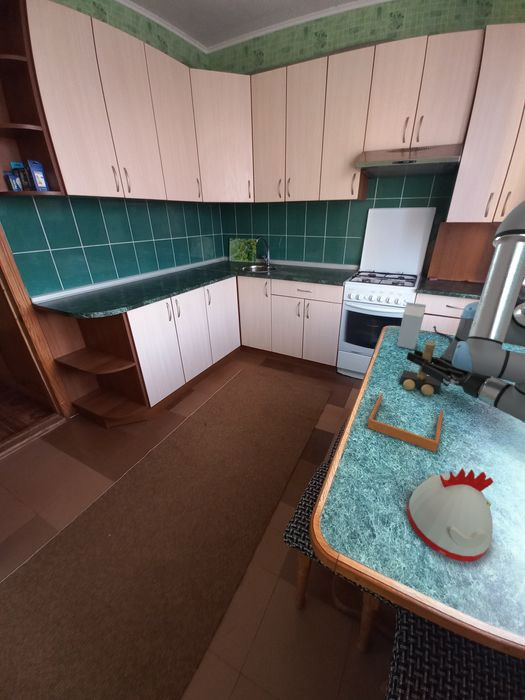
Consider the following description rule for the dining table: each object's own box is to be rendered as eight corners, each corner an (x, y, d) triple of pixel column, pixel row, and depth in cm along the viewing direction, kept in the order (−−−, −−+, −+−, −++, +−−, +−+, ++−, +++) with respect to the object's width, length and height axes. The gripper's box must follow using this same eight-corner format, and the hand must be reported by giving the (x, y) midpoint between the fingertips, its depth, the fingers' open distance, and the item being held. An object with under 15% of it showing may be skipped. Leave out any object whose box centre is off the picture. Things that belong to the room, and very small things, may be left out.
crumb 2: (422, 383, 94) (420, 394, 94) (435, 386, 92) (432, 397, 92) (422, 383, 97) (419, 393, 97) (434, 386, 95) (431, 396, 95)
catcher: (379, 400, 93) (381, 392, 92) (440, 418, 85) (443, 410, 83) (367, 427, 82) (368, 419, 81) (435, 452, 74) (438, 443, 72)
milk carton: (414, 350, 123) (424, 307, 114) (396, 346, 127) (405, 304, 118) (416, 343, 128) (427, 302, 120) (399, 340, 132) (408, 300, 123)
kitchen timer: (503, 568, 51) (539, 514, 44) (418, 554, 53) (440, 500, 46) (467, 496, 63) (491, 445, 56) (400, 487, 65) (415, 437, 58)
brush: (402, 376, 105) (411, 336, 98) (439, 386, 99) (452, 344, 92) (399, 383, 101) (409, 342, 94) (438, 393, 95) (452, 350, 88)
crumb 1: (405, 376, 98) (402, 384, 96) (417, 379, 96) (414, 387, 94) (403, 382, 100) (401, 390, 99) (415, 385, 99) (412, 393, 97)
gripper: (464, 407, 80) (393, 369, 98) (495, 390, 87) (423, 358, 105) (473, 384, 77) (397, 350, 95) (504, 368, 83) (428, 339, 102)
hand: (411, 354), depth 100 cm, fingers closed on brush, 3 cm apart
